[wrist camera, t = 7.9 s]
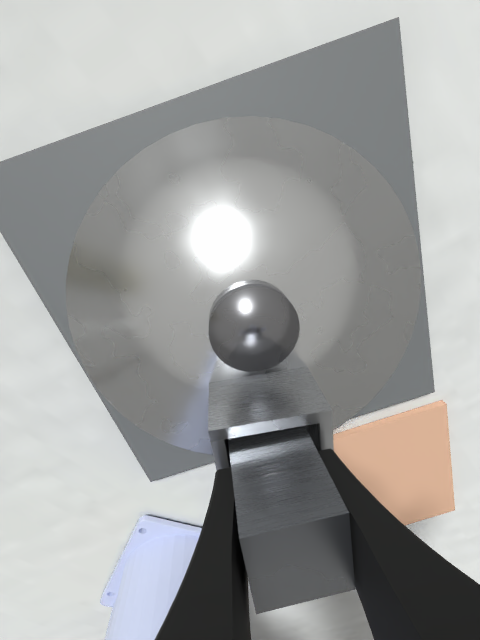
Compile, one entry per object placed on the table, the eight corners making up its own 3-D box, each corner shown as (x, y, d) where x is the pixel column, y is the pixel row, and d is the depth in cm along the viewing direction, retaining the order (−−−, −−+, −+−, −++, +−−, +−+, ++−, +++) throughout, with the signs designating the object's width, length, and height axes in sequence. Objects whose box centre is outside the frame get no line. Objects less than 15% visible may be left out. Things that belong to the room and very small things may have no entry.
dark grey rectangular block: (224, 404, 14) (239, 538, 8) (287, 391, 14) (349, 512, 8) (235, 456, 15) (256, 614, 9) (294, 443, 15) (355, 589, 9)
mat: (451, 505, 23) (455, 510, 23) (322, 544, 23) (324, 549, 23) (442, 400, 19) (446, 404, 19) (290, 448, 20) (291, 452, 19)
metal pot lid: (32, 157, 12) (-86, 128, 7) (404, 104, 13) (524, 43, 8) (133, 449, 18) (104, 543, 13) (389, 405, 18) (454, 480, 13)
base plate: (428, 386, 19) (434, 391, 18) (152, 473, 20) (150, 481, 19) (390, 25, 12) (398, 16, 12) (-24, 175, 13) (-34, 174, 12)
